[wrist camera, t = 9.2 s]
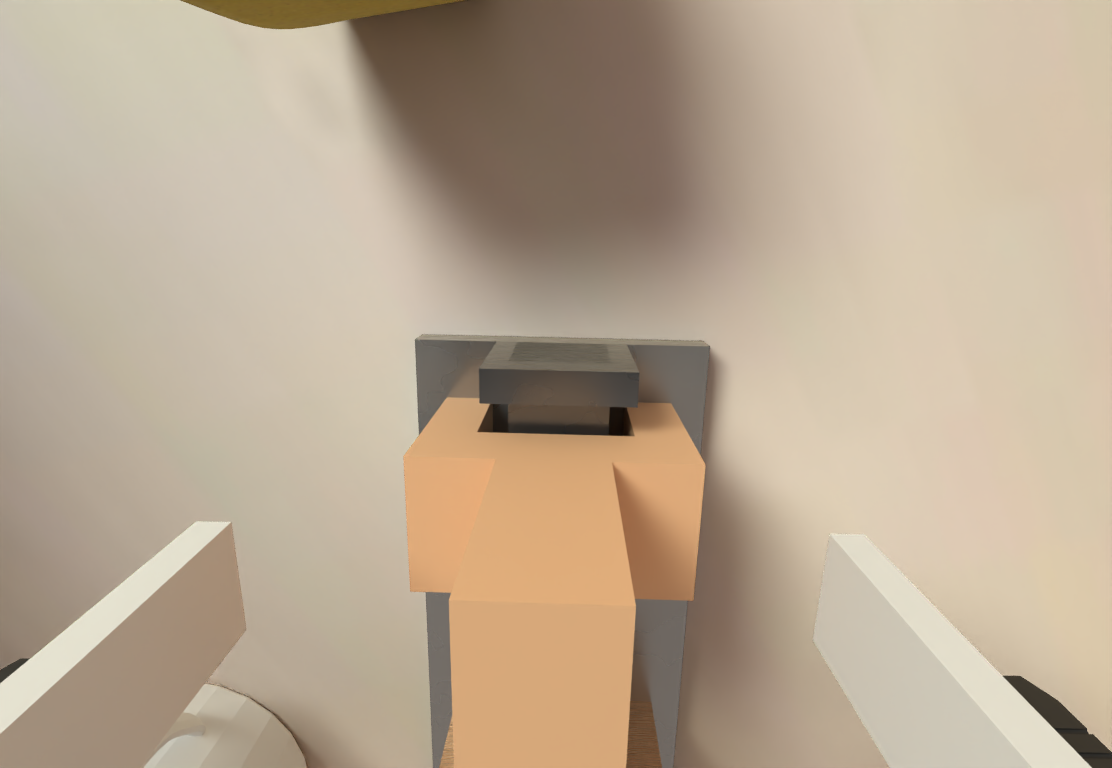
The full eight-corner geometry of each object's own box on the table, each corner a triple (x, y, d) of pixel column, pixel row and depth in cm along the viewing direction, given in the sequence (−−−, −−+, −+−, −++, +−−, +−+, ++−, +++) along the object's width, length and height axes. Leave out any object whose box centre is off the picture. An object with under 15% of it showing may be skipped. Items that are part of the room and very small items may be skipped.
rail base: (439, 779, 26) (326, 1249, 14) (422, 334, 21) (221, 477, 9) (665, 788, 26) (746, 1274, 14) (703, 340, 21) (882, 495, 9)
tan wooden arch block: (671, 403, 20) (787, 611, 9) (662, 523, 22) (757, 834, 11) (447, 397, 21) (300, 595, 10) (450, 517, 22) (323, 816, 11)
